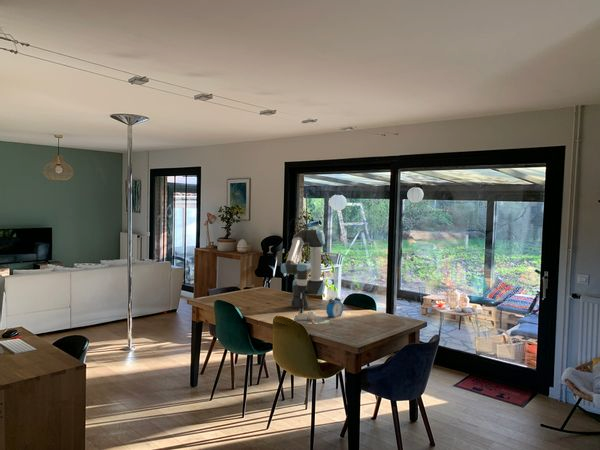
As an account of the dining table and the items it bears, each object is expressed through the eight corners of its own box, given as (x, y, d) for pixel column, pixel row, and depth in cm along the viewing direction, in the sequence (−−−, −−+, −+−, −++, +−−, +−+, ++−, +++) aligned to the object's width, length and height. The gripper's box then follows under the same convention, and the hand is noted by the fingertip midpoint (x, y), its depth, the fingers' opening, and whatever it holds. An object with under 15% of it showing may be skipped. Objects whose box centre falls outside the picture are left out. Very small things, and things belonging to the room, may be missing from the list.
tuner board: (295, 317, 347) (295, 315, 347) (330, 318, 344) (330, 316, 344) (291, 325, 323) (291, 323, 323) (329, 327, 320) (329, 324, 320)
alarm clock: (332, 320, 340) (332, 299, 339) (325, 318, 344) (325, 298, 344) (343, 317, 349) (343, 297, 349) (336, 315, 354) (337, 296, 353)
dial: (297, 318, 336) (297, 310, 336) (315, 318, 338) (315, 310, 337) (299, 324, 321) (299, 315, 321) (318, 323, 322) (318, 315, 322)
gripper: (297, 283, 341) (296, 314, 342) (296, 286, 328) (295, 319, 329) (307, 283, 340) (306, 315, 341) (306, 286, 327) (306, 319, 329)
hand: (301, 317), depth 335 cm, fingers closed
